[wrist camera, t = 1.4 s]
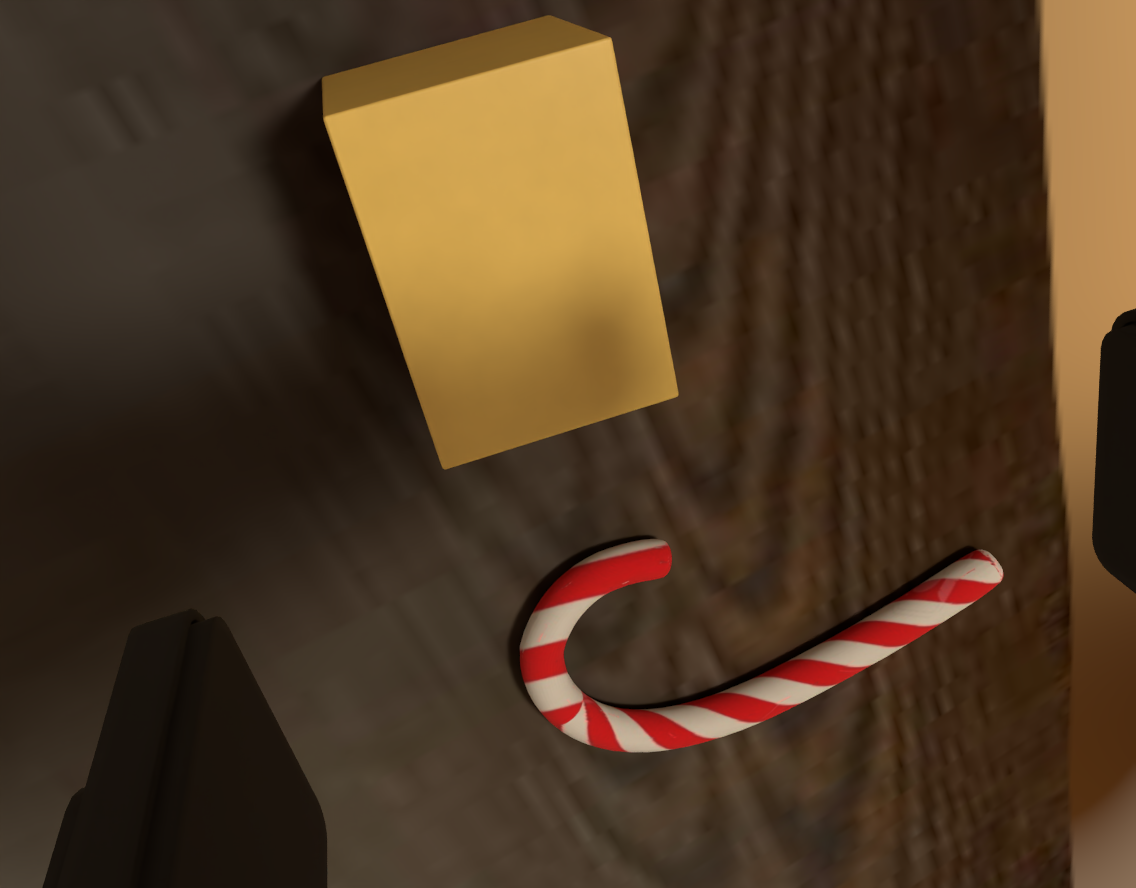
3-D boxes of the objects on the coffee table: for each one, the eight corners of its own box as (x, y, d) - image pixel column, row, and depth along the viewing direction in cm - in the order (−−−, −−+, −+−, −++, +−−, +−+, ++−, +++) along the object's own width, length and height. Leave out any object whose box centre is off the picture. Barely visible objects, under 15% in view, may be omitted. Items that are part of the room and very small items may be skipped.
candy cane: (1006, 657, 31) (555, 798, 30) (982, 632, 32) (545, 766, 31) (1019, 450, 27) (501, 598, 26) (991, 429, 29) (494, 570, 27)
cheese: (320, 77, 20) (322, 117, 16) (550, 14, 21) (612, 36, 16) (420, 373, 24) (443, 471, 19) (614, 313, 24) (679, 396, 20)
